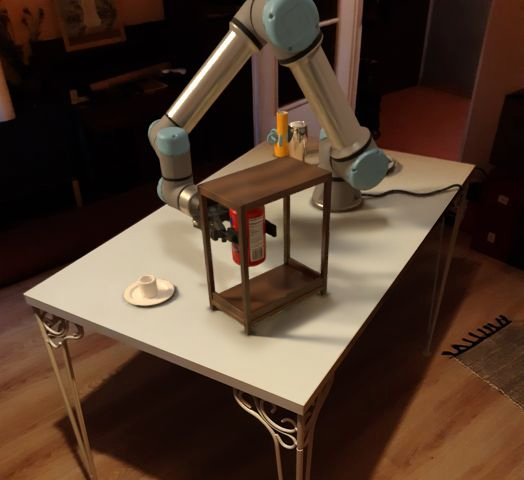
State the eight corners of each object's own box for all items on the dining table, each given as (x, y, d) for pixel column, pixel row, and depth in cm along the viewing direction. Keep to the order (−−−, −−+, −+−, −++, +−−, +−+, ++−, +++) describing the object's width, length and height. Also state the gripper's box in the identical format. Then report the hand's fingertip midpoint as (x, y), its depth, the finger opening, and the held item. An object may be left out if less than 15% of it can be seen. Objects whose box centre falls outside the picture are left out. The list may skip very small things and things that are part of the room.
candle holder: (132, 280, 141) (129, 265, 138) (179, 281, 140) (177, 266, 137) (118, 307, 132) (114, 291, 129) (168, 308, 131) (165, 293, 128)
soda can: (257, 272, 127) (255, 209, 118) (226, 265, 130) (222, 204, 120) (271, 256, 132) (270, 195, 123) (242, 250, 135) (238, 190, 126)
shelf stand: (209, 308, 130) (196, 184, 112) (287, 272, 142) (286, 155, 124) (247, 335, 122) (240, 206, 103) (326, 294, 133) (332, 171, 115)
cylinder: (294, 161, 203) (294, 118, 194) (265, 160, 205) (264, 117, 196) (299, 149, 213) (299, 108, 204) (272, 148, 215) (271, 107, 205)
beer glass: (286, 165, 201) (285, 121, 192) (305, 163, 201) (306, 120, 192) (288, 172, 195) (288, 127, 186) (308, 170, 196) (309, 126, 187)
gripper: (235, 207, 144) (295, 238, 130) (168, 232, 134) (225, 268, 120) (233, 179, 140) (295, 207, 126) (163, 202, 130) (222, 236, 116)
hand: (261, 237), depth 123 cm, fingers closed on soda can, 7 cm apart
